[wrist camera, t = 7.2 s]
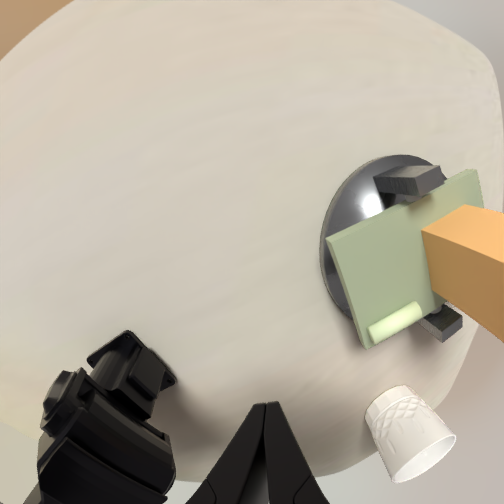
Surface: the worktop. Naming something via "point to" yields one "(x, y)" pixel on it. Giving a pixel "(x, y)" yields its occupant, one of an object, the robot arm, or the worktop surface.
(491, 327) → the orange and green block
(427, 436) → the white cup
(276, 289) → the worktop surface
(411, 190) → the base
